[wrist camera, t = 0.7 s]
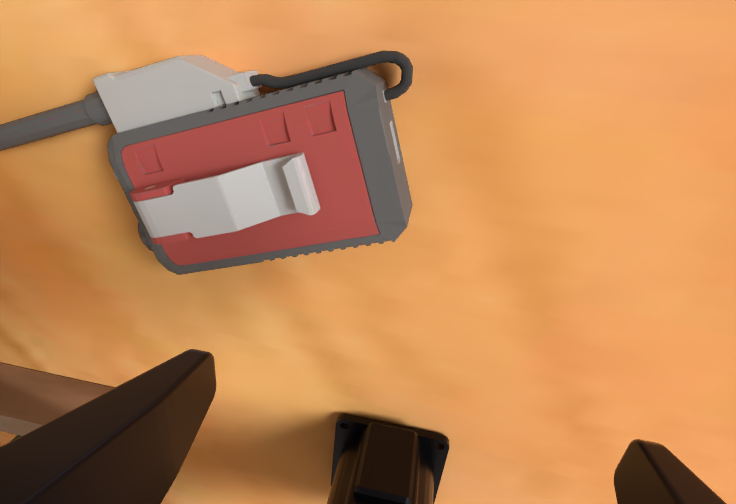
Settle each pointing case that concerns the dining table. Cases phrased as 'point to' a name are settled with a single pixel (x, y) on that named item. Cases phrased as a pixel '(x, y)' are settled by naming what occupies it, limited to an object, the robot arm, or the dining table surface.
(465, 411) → the dining table surface
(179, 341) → the dining table surface
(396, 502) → the robot arm
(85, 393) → the brown shallow tray
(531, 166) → the dining table surface
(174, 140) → the walkie-talkie
